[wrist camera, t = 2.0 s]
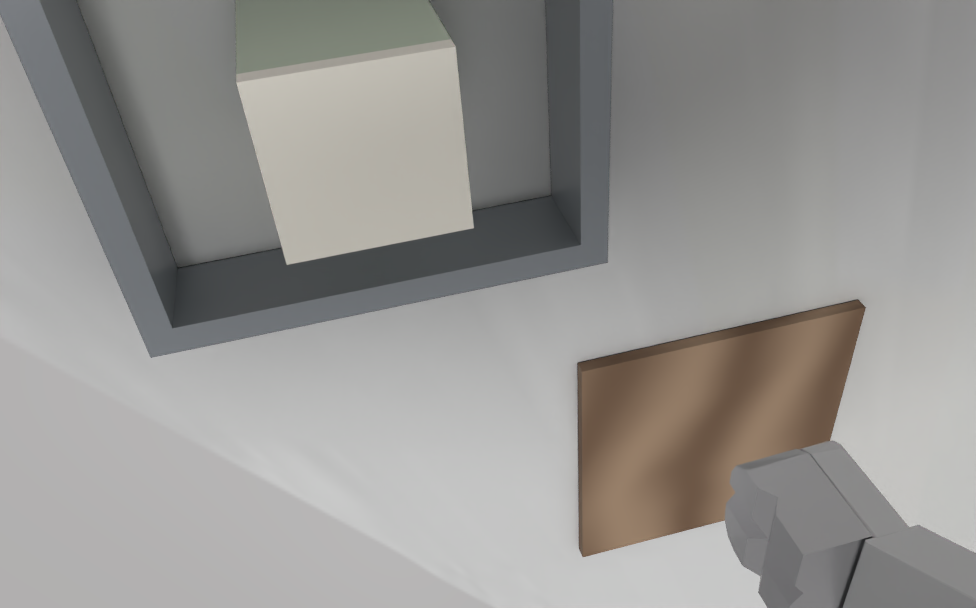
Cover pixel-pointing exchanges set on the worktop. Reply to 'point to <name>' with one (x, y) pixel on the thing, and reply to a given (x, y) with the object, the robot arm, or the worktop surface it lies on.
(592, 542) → the walnut pad
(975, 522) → the worktop surface
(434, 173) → the sage block
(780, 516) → the robot arm
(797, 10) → the worktop surface
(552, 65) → the frame
